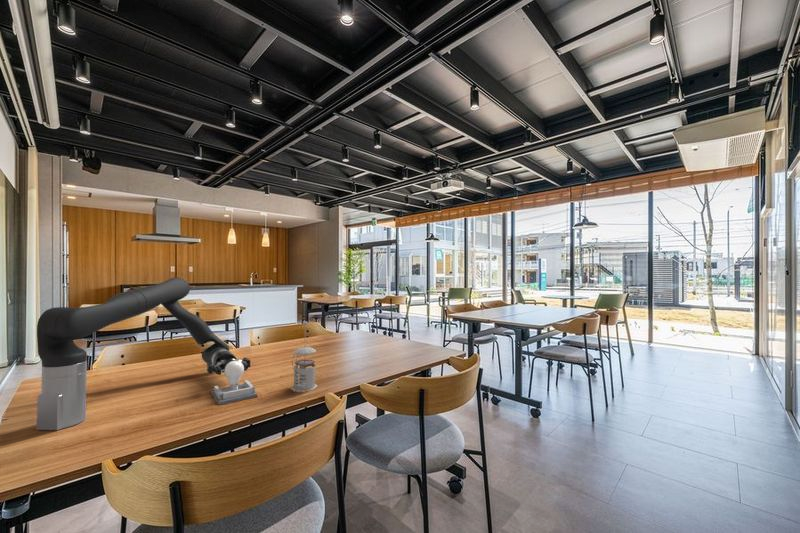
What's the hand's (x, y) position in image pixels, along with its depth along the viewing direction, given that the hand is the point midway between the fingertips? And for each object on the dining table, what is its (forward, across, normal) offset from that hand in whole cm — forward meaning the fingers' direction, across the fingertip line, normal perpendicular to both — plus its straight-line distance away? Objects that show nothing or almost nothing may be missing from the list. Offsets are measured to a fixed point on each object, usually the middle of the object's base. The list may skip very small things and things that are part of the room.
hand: (233, 369), depth 122 cm
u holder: (+1, 0, +8) cm, 9 cm away
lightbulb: (+1, 0, +8) cm, 8 cm away
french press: (+9, +23, +9) cm, 26 cm away
